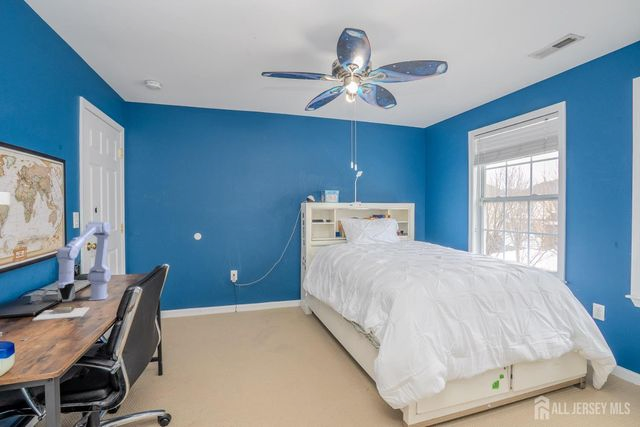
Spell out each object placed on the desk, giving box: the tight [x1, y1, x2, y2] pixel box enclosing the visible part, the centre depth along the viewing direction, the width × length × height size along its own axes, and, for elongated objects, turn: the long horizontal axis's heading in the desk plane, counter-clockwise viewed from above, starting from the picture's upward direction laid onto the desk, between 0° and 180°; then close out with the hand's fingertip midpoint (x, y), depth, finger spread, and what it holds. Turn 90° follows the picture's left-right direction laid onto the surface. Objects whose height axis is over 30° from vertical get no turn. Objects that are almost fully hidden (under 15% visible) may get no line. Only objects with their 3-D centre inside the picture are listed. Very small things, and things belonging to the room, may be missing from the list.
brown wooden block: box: [54, 302, 77, 314], centre depth 151 cm, size 2×6×8 cm
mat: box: [31, 306, 90, 322], centre depth 147 cm, size 14×18×1 cm
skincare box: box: [57, 285, 76, 302], centre depth 169 cm, size 6×6×7 cm
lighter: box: [30, 287, 50, 302], centre depth 161 cm, size 7×2×8 cm, turn 117°
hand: (65, 299), depth 150 cm, fingers closed
